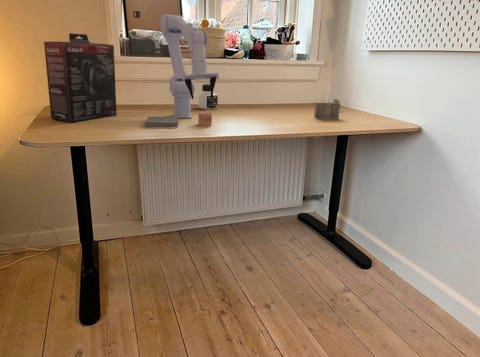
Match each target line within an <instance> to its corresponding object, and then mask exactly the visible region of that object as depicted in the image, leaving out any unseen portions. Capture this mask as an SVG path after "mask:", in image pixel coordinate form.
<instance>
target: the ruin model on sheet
mask: <svg viewBox="0 0 480 357" xmlns="http://www.w3.org/2000/svg"><path fill="white" fill-rule="evenodd" d="M340 109H341V102H340V100H339V99H338V98H333V102H319V103H318V102H315V108H314V114H313V115H314V116H313V118H314V117H315V118H338V119H339V117H340ZM315 118H314V119H315Z"/></svg>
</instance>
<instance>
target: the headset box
mask: <svg viewBox="0 0 480 357" xmlns="http://www.w3.org/2000/svg"><path fill="white" fill-rule="evenodd" d="M78 37H80V38H78ZM68 40H69V41H43V47H44V55H45V57H44V58H45V66H46V77H47V78H46V79H47V88H48V97H49V99H48V101H49V107H50V119H52V120H58V121H63V122H66V123H67V122H68V123H75V122H81V121H87V120H94V119H101V118H107V117H108V118H109V117H113V116H117V96H116V95H117V94H116V92H117V91H116V70H115V69H116V68H115V67H116V66H115V46H114V44H107V43H96V42H95V43H94V42H90V39H89V36H88V34H87V33H85V34H84V33H71V32H70V33H69V34H68Z"/></svg>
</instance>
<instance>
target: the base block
mask: <svg viewBox="0 0 480 357" xmlns="http://www.w3.org/2000/svg"><path fill="white" fill-rule="evenodd" d="M178 119H179V118H178V117H173V116H147V118H146V120H145V128H146V127H177V128H178V125H177V124H179V123H178V121H179V120H178Z"/></svg>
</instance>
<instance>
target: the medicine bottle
mask: <svg viewBox="0 0 480 357" xmlns="http://www.w3.org/2000/svg"><path fill="white" fill-rule="evenodd" d="M201 86H202V88H201V92H202V93H198V108H199V109H203V110H216V109H218V97H219V95H218V94H217V93H215V90H214V91H213V98H211V88H210V83H204V84H202V85H201Z"/></svg>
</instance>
